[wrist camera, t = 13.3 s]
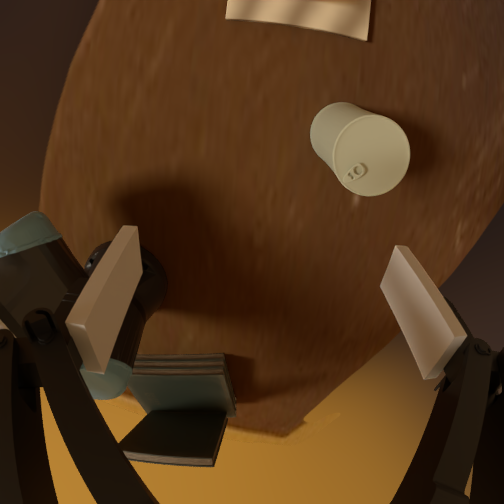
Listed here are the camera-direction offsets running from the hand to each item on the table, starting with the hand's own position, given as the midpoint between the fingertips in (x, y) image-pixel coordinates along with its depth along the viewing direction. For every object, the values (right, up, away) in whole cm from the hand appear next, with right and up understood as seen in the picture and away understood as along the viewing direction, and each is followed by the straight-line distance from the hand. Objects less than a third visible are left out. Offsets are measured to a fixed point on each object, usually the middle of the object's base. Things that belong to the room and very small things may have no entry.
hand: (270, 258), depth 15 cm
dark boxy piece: (-17, -29, +53) cm, 63 cm away
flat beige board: (+5, +33, +13) cm, 36 cm away
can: (+11, +17, +24) cm, 31 cm away
